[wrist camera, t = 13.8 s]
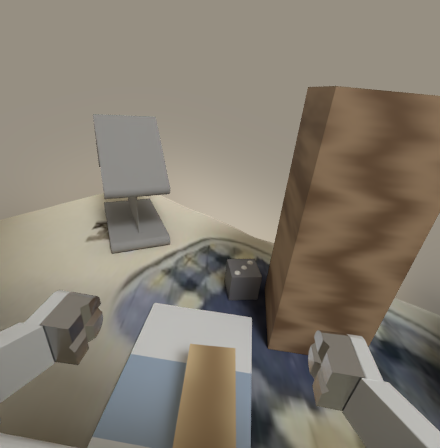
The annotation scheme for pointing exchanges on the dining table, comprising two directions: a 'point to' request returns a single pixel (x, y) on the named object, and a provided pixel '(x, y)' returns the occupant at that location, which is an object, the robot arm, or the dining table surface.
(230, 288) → the die
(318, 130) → the walnut stand
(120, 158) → the phone stand
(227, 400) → the light wooden block
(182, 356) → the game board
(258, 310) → the dining table surface
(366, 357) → the robot arm
